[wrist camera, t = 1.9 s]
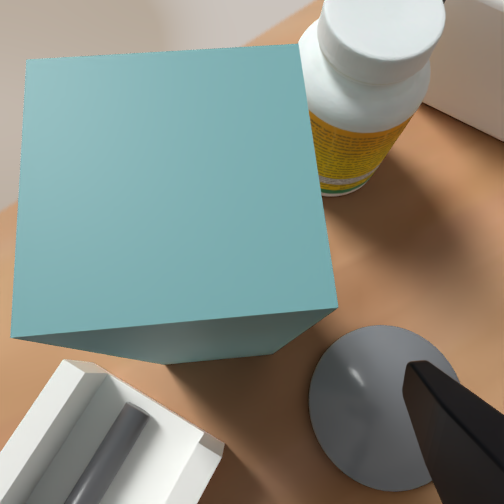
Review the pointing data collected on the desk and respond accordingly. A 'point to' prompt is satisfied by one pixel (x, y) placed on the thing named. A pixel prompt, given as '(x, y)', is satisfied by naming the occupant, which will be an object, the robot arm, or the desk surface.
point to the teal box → (170, 205)
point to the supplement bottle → (365, 81)
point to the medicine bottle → (470, 65)
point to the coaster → (371, 406)
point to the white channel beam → (104, 446)
